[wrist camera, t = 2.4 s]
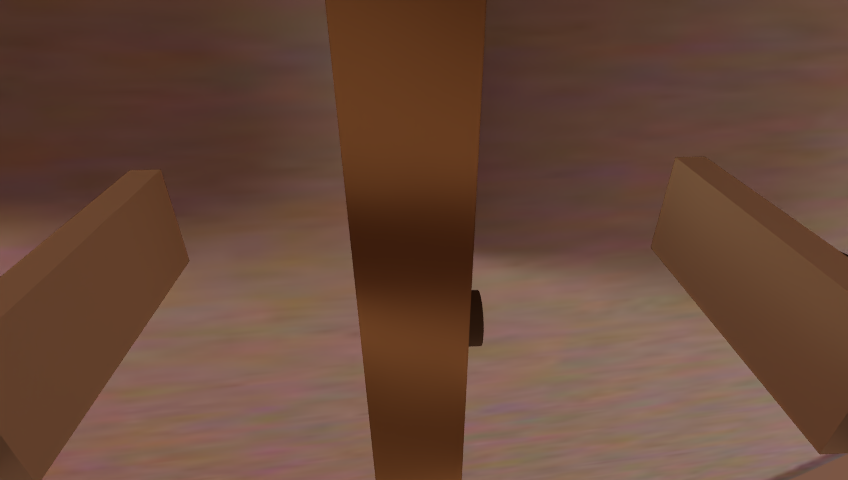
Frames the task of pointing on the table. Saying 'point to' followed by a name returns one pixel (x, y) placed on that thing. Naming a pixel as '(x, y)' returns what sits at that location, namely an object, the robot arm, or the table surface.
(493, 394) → the table surface
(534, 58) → the table surface
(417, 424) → the door
